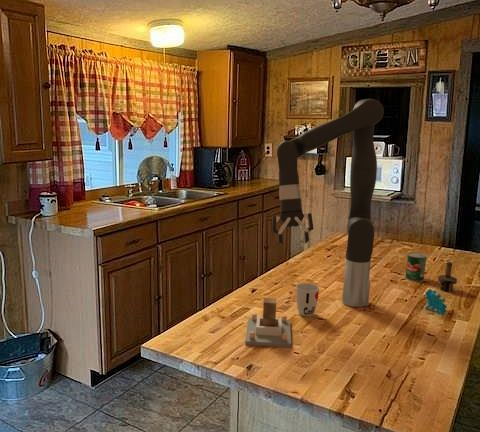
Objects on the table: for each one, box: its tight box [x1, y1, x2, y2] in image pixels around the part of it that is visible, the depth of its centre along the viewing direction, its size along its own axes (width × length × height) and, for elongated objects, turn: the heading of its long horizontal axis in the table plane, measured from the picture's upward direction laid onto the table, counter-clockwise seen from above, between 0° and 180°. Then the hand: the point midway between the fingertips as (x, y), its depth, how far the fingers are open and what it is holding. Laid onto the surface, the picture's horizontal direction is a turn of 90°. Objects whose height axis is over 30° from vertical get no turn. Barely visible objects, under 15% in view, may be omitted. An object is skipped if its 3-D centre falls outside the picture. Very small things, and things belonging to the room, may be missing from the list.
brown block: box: [262, 297, 277, 327], centre depth 159 cm, size 4×4×10 cm
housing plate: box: [244, 313, 292, 348], centre depth 160 cm, size 14×18×4 cm
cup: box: [295, 282, 320, 317], centre depth 176 cm, size 8×8×10 cm
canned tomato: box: [404, 251, 427, 283], centre depth 218 cm, size 8×8×11 cm
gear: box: [424, 288, 448, 315], centre depth 184 cm, size 11×6×10 cm
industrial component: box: [437, 261, 458, 293], centre depth 205 cm, size 9×7×12 cm
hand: (294, 243), depth 176 cm, fingers open, 8 cm apart
